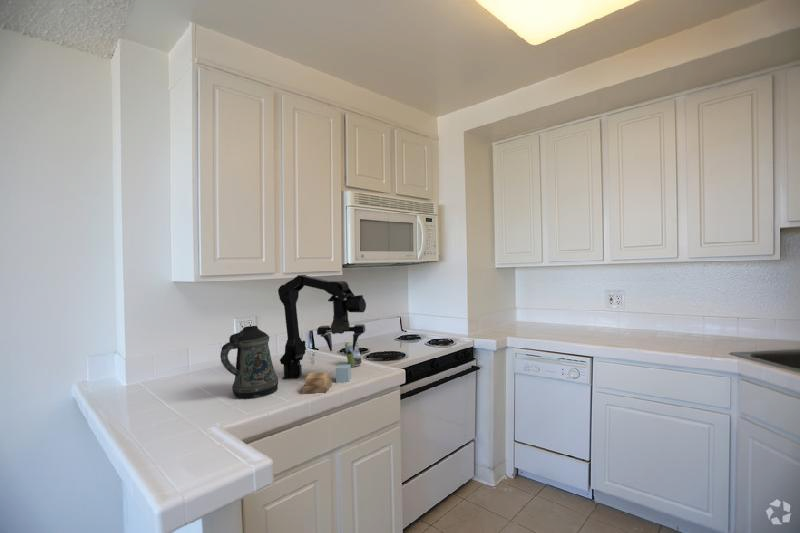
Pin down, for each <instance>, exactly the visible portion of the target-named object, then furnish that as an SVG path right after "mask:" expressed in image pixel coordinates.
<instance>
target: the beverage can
mask: <svg viewBox="0 0 800 533" xmlns="http://www.w3.org/2000/svg"><path fill="white" fill-rule="evenodd" d="M358 343H359V342H358V341H357V343H356V346H355V350H354V351H353V339H349V340H347V341H345V343H344V348H345V349H344V350H345V352H346V354H345V355H346V358H347V364H351V368H354V367H358V366H360V365H361V364H362V359H361V353H360V347H359V344H358Z"/></svg>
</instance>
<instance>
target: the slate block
mask: <svg viewBox="0 0 800 533" xmlns="http://www.w3.org/2000/svg"><path fill="white" fill-rule="evenodd" d="M351 369H352V367H351V364H348V363H347V364H338V365H337V366H336V367H335V380H336V382H335V384H347V383H346V382H349V381H351V380H352V370H351ZM350 379H351V380H350ZM339 382H340V383H339ZM344 382H345V383H344ZM349 383H350V382H349Z"/></svg>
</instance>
